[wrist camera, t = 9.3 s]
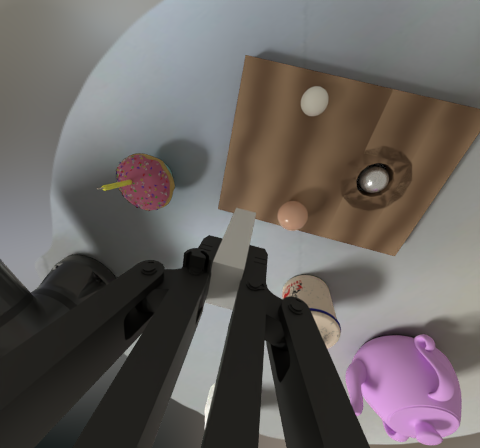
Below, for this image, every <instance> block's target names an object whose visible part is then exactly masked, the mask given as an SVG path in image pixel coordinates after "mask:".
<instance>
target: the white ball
mask: <svg viewBox="0 0 480 448" xmlns="http://www.w3.org/2000/svg"><path fill="white" fill-rule="evenodd" d="M327 105H328V94H327V92H326V90H325V89H324V88H322V87H319V86H314V87H311V88H309V89H308V90H307V91H306V92H305V93H304V94H303V96H302V99H301V108H302V111H303V112H304V113H305V114H306V115H308V116H317V115H319V114H321V113H322V112H323V111H324V110H325V109H326V107H327Z"/></svg>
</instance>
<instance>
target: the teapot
mask: <svg viewBox="0 0 480 448" xmlns="http://www.w3.org/2000/svg"><path fill="white" fill-rule="evenodd" d="M346 384H347V388H348V392H349V395H350V401H351V405H352V407H353V410H354V412H355V414H356V416H358V415H360V414H361V413H362V410H363V398H362V395H363V397H364V398H365V400H366V401H367V402H368V404H369V405H370V406H371V407H372V409H373V410H374V411H375V412H376V413H377V414H378V415H379V416H380V418H381V419H382V421H383V425H384V428H385V430H386V432H387V434H388V435H389V436H390V437H391V438H392V439H394V440H396V441H399V442H404V441H406V440H407V439H408V438H409V437H412V438H417V441H418V442H420V443H423V444H426V445H437V444H440V443H441V442H442V441H443V439H442V437H445V436H448V435H450V434H452V433H454V432H455V431H456V430H457V429H458V427H459V425H460V420H461V390H460V386H459V381H458V378H457V376H456V373H455V371H454V369H453V367H452V365H451V363H450V361H449V360H448V358H447V357H446V356H445V355H444V354H443V353H442V352H441V351H440V350H439V349H437V348H436V347H435V342H434V340H433V339H432V338H431V337H429V336H428V335H425V334H421V335H418V336H416V337H415V338H412V337H408V336H401V335H389V336H382V337H378V338H375V339H372V340H370V341H368V342H367V343H365V344H364V345H363V346H362V347H361V348H360V349H359V350H358V351H357V353H356V354H355V356H354V358H353V360H352V363H351V364H350V365H349V367H348V369H347V371H346Z"/></svg>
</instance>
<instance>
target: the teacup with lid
mask: <svg viewBox="0 0 480 448" xmlns="http://www.w3.org/2000/svg"><path fill="white" fill-rule="evenodd" d="M289 296H293V297H297V298H299V299H301V300H303V301H304V302H305V303H306V304H307V305H308V307H309V308H310V310H311V313H312V315H313V317H314V320H315V322H316V324H317V327H318V329H319V331H320V333H321V336H322V338H323V340H324V343H325V345H326V347H327V349H328V348H330V347H332V346H333V345H334V344H335V343H336V342H337V341H338V339H339V337H340V333H341V327H340V324H339V322H338V321H337V318H336V315H335V311H334V307H333V303H332V299H331V296H330V292H329V289H328V286H327V285H326V284H325V282H323V281H322V280H321V279H319V278H317V277H314V276H310V275H300V276H296V277H294V278H292V279H290V280H289V281H287V283H286V284H285V285H284V287H283V299H284V298H285V297H289Z"/></svg>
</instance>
